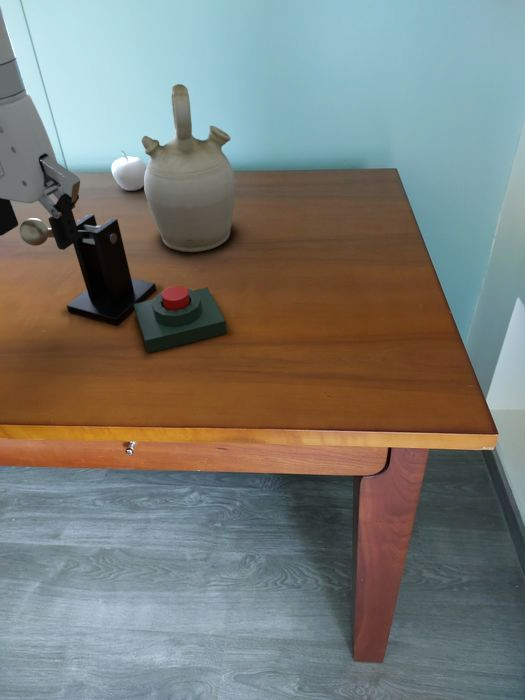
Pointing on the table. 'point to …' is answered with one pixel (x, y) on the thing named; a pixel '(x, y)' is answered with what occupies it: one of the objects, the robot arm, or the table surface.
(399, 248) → the table surface
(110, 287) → the bracket
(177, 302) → the button
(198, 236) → the jug
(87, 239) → the lever
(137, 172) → the plain white apple
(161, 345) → the button box
